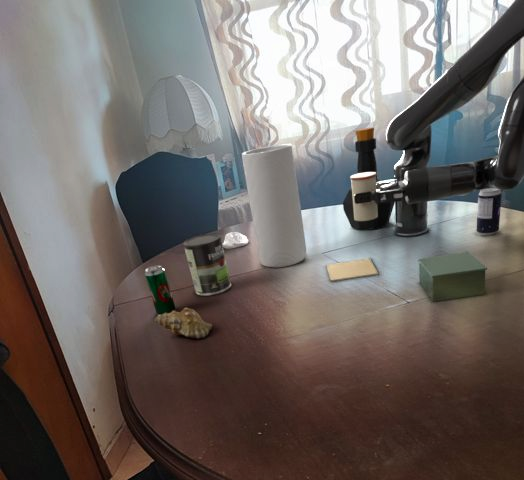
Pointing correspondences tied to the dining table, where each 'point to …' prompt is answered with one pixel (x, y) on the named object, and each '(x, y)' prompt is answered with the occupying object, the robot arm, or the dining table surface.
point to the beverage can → (488, 211)
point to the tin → (452, 276)
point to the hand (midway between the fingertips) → (353, 196)
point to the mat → (351, 269)
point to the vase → (275, 205)
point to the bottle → (368, 164)
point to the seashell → (185, 323)
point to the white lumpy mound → (234, 240)
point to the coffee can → (207, 264)
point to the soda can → (159, 289)
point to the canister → (360, 185)
